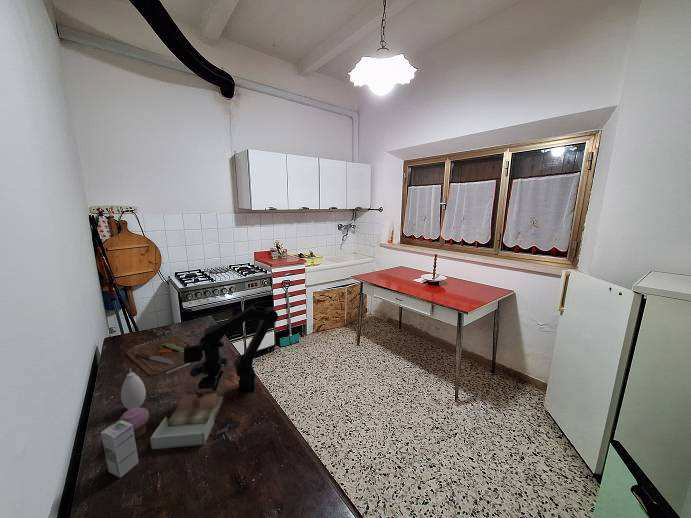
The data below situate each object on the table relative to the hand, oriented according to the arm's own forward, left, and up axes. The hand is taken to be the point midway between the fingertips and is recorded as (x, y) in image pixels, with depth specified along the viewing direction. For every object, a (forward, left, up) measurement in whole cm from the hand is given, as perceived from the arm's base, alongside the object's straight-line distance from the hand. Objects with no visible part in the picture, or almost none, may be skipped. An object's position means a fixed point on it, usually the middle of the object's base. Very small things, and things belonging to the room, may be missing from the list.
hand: (215, 390), depth 117 cm
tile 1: (+8, +8, -1) cm, 11 cm away
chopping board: (+42, -42, -4) cm, 59 cm away
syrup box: (+18, +31, -4) cm, 36 cm away
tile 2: (0, +8, -1) cm, 8 cm away
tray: (+4, +20, -3) cm, 21 cm away
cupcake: (+22, +18, -4) cm, 28 cm away
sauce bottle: (+31, +3, -4) cm, 31 cm away
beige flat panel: (+4, +9, -3) cm, 10 cm away
